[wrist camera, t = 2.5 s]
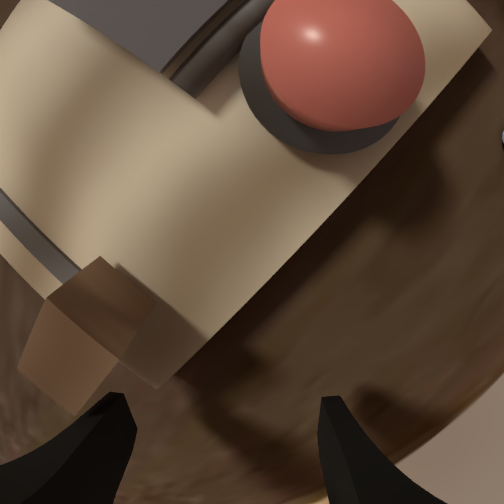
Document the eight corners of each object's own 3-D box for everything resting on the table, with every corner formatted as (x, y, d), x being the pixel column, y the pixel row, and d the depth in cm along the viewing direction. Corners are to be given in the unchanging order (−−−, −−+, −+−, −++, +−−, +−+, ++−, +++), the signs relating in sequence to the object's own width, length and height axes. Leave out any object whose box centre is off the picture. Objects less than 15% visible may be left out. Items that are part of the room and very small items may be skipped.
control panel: (472, 38, 9) (507, 24, 6) (166, 368, 14) (151, 405, 11) (202, -133, 6) (193, -161, 3) (-43, 168, 11) (-76, 176, 8)
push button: (419, 72, 7) (451, 59, 5) (338, 160, 8) (358, 164, 6) (320, -14, 6) (331, -46, 5) (231, 68, 7) (222, 48, 6)
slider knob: (155, 302, 10) (119, 359, 7) (109, 361, 11) (74, 416, 8) (100, 255, 10) (46, 297, 7) (61, 322, 11) (17, 368, 8)
